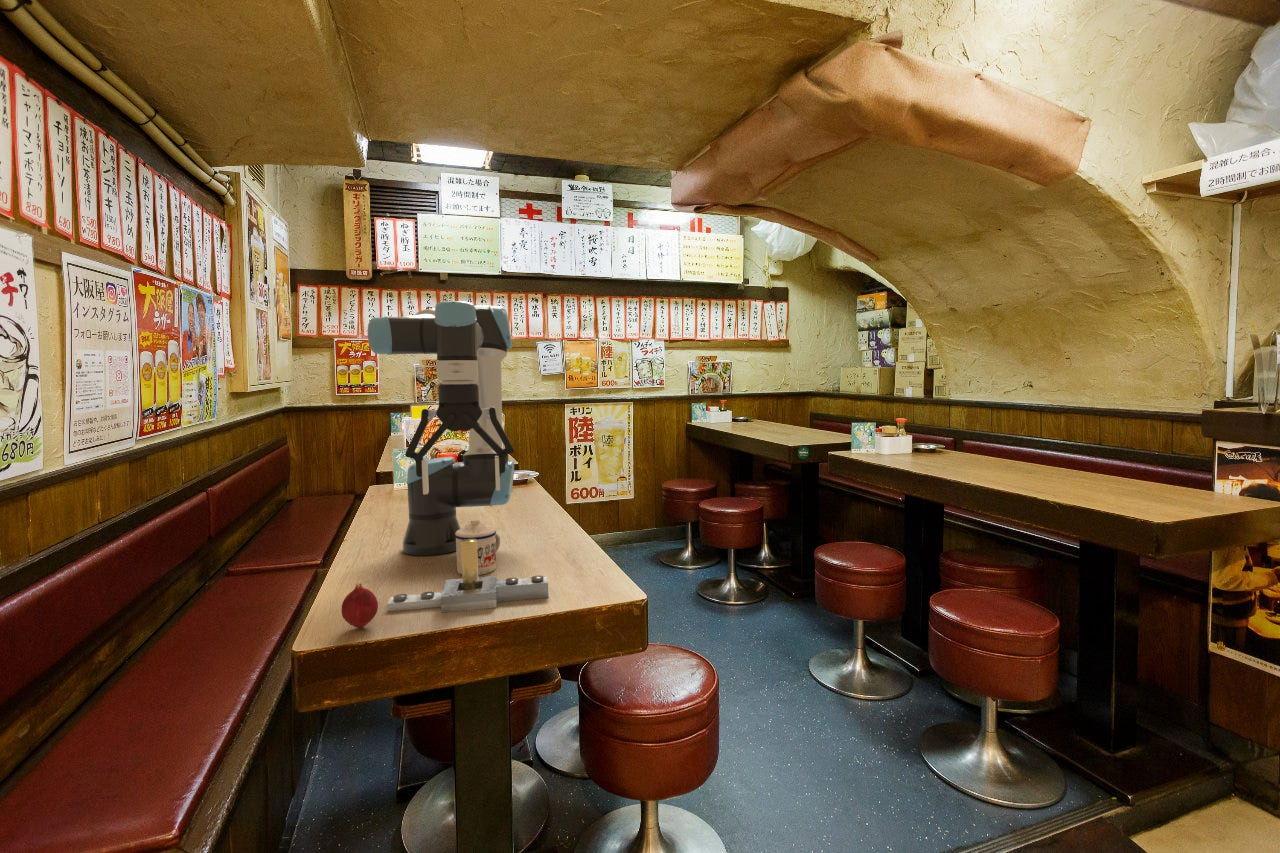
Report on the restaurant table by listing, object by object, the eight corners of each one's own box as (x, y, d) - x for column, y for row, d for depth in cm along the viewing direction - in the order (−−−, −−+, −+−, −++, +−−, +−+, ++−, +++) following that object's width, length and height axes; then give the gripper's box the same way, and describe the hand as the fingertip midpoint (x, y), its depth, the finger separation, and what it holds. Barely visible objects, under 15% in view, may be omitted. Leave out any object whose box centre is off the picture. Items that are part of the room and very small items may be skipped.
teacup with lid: (476, 578, 130) (474, 526, 129) (447, 572, 135) (445, 521, 134) (514, 564, 140) (512, 515, 139) (486, 558, 145) (484, 511, 144)
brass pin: (463, 598, 118) (461, 539, 117) (479, 597, 119) (477, 538, 118) (462, 604, 115) (460, 543, 114) (478, 602, 116) (476, 542, 115)
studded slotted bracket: (394, 598, 119) (393, 580, 118) (546, 585, 125) (546, 569, 125) (384, 617, 109) (383, 598, 108) (549, 602, 115) (548, 584, 115)
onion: (384, 627, 104) (382, 582, 104) (351, 638, 100) (348, 591, 100) (370, 618, 108) (368, 576, 108) (337, 628, 104) (334, 584, 103)
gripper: (385, 384, 109) (391, 498, 111) (524, 382, 114) (527, 491, 116) (393, 383, 116) (398, 490, 118) (523, 381, 121) (526, 484, 123)
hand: (462, 491), depth 117 cm, fingers open, 13 cm apart
